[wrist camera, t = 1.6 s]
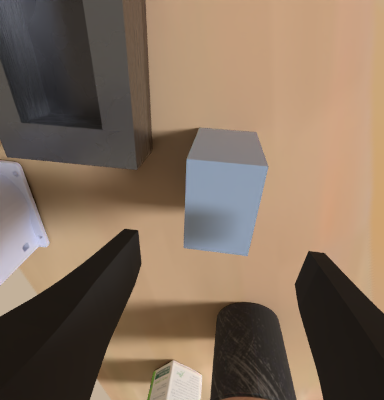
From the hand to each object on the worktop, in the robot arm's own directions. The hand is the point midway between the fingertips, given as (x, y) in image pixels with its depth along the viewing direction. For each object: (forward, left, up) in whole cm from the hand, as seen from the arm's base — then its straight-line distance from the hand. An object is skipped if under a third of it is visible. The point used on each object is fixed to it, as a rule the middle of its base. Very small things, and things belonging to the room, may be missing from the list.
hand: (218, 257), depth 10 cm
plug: (0, 0, -10) cm, 10 cm away
